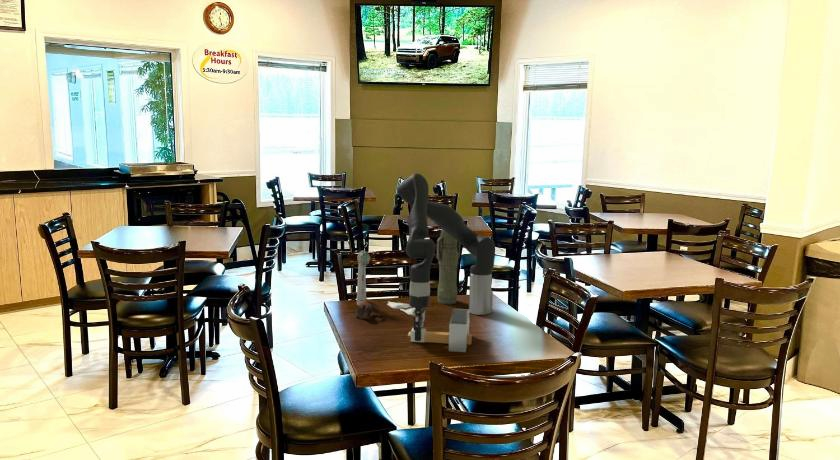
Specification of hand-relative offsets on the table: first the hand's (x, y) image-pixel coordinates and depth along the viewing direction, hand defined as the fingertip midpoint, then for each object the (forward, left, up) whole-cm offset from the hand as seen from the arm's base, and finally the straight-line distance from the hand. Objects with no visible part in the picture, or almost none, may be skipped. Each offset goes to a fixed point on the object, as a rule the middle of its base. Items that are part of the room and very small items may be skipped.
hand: (418, 338), depth 232 cm
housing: (-13, +7, -1) cm, 15 cm away
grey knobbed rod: (+5, -52, -1) cm, 52 cm away
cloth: (-11, -43, -2) cm, 44 cm away
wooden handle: (-7, +4, -1) cm, 8 cm away
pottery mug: (+10, -34, -2) cm, 36 cm away
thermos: (-34, -47, -1) cm, 58 cm away
